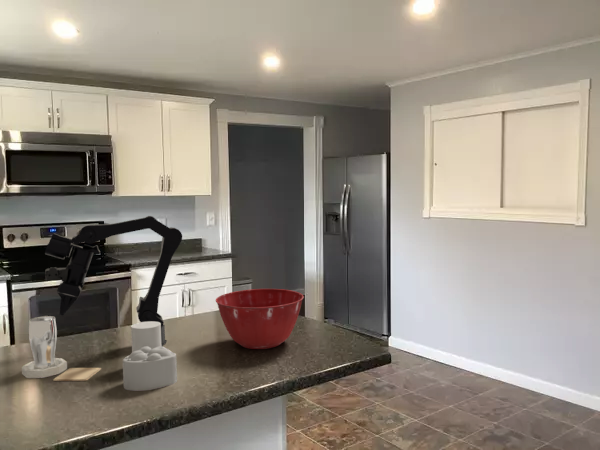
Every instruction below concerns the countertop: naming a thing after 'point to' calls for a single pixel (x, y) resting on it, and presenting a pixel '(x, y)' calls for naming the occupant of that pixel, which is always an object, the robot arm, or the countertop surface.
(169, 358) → the lumpy-topped squat cylinder
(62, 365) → the holder ring
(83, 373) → the coaster
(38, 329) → the beer glass
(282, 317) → the mixing bowl
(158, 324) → the cup
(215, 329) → the countertop surface
